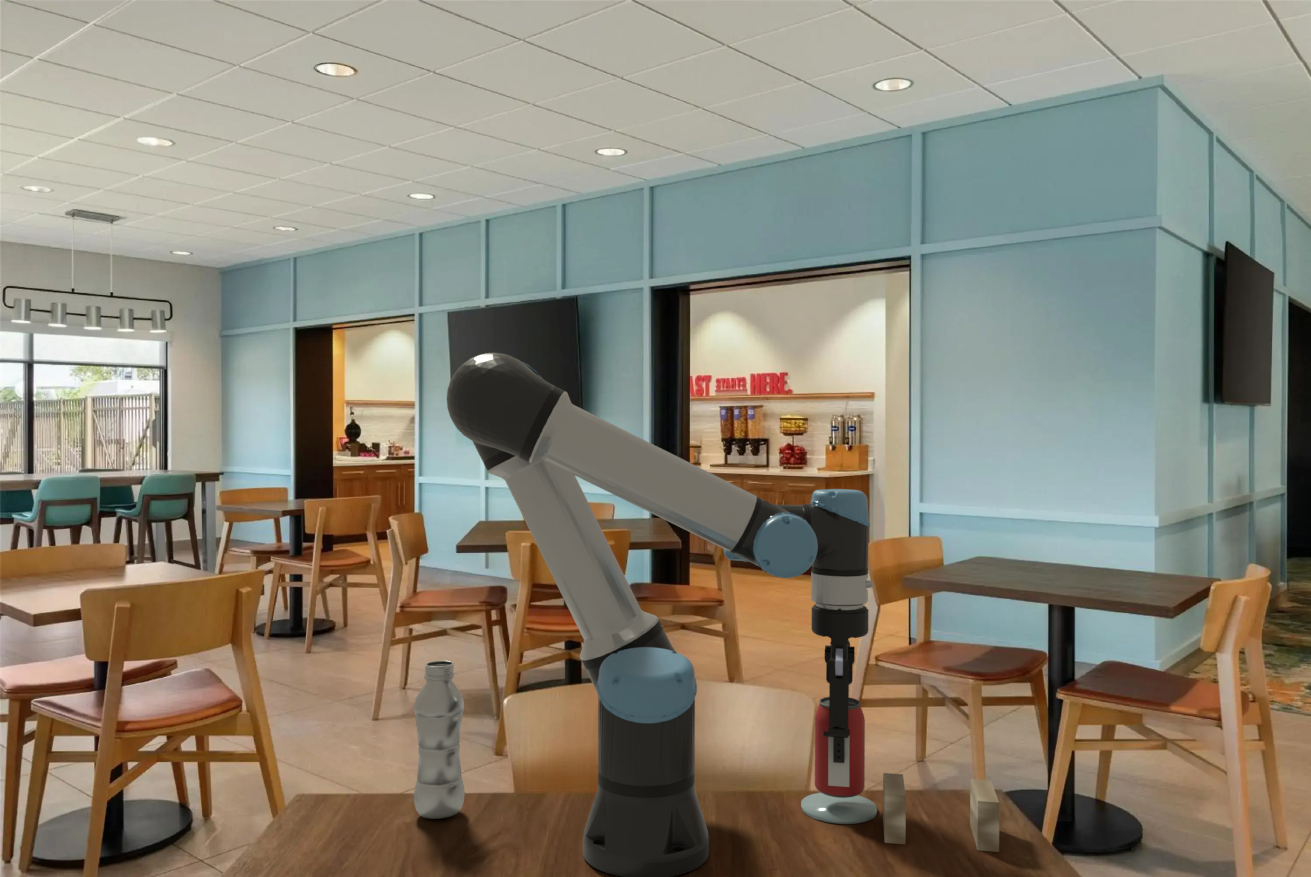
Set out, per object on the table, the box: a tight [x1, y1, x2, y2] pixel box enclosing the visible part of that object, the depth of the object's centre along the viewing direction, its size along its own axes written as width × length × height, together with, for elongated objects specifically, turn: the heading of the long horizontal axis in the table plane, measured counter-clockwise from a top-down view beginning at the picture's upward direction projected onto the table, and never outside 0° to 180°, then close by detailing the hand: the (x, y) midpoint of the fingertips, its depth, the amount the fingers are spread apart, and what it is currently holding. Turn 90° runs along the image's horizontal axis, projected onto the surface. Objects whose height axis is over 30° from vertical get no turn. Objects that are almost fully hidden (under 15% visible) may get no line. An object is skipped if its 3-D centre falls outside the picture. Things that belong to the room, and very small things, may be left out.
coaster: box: [800, 792, 878, 825], centre depth 137 cm, size 10×10×1 cm
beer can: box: [814, 696, 866, 798], centre depth 137 cm, size 7×7×12 cm
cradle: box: [882, 772, 1000, 853], centre depth 128 cm, size 14×8×6 cm, turn 79°
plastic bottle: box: [413, 660, 466, 820], centre depth 134 cm, size 6×7×20 cm
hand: (839, 775), depth 137 cm, fingers closed on beer can, 7 cm apart
